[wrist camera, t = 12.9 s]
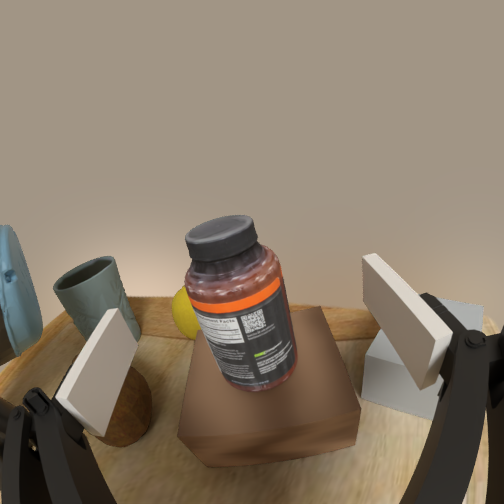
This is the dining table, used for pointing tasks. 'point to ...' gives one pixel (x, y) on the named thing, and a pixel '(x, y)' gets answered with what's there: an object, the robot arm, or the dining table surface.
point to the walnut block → (272, 405)
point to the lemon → (184, 314)
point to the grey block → (398, 377)
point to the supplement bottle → (241, 303)
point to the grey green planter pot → (94, 295)
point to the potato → (129, 411)
